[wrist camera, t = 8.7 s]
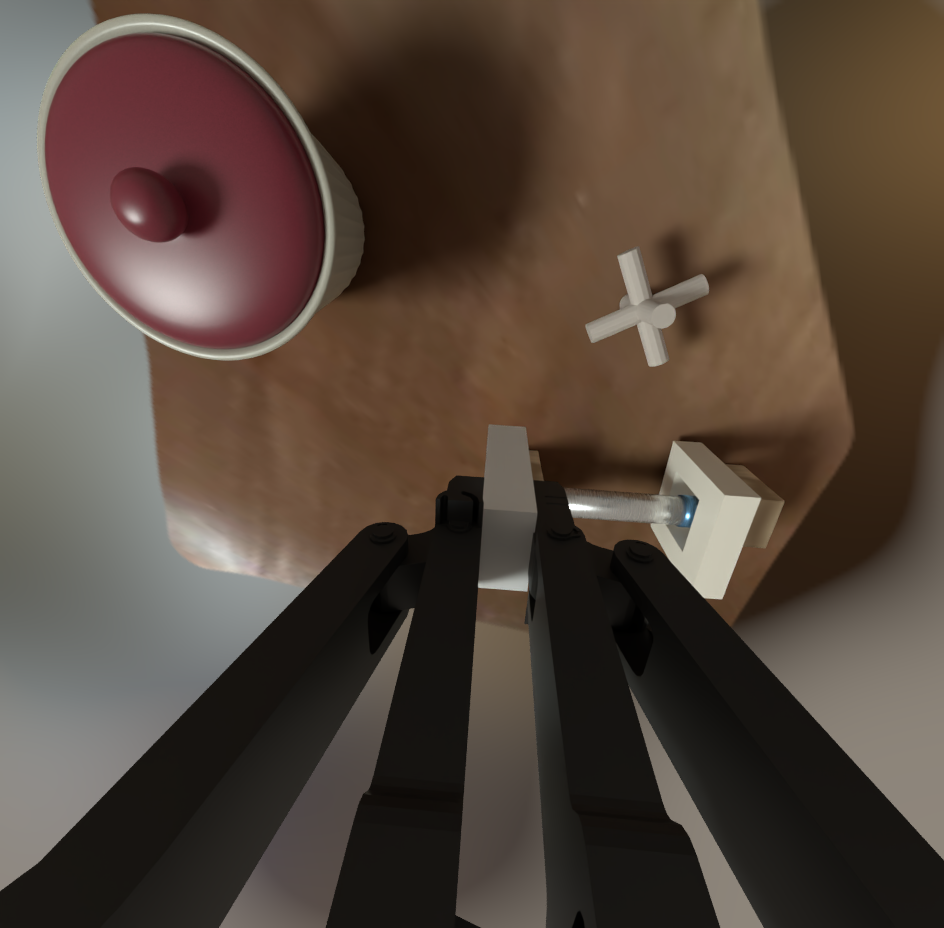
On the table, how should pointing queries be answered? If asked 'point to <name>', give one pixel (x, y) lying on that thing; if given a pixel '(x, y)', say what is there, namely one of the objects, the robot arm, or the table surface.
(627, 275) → the pipe connector
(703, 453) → the collar
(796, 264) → the table surface
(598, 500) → the steel rod
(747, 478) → the rod support stand
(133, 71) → the canister
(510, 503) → the robot arm
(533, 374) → the table surface
